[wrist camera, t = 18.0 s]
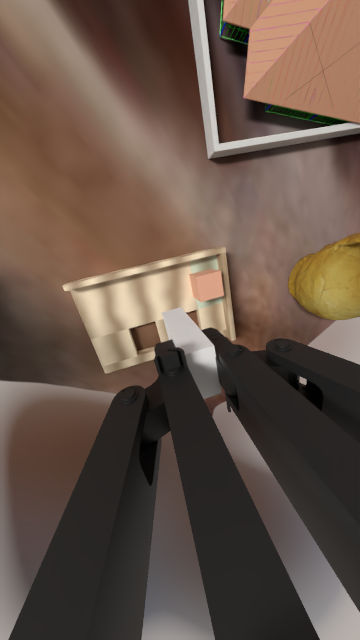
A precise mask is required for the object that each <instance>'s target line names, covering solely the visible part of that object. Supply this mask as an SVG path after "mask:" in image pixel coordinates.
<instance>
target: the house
mask: <svg viewBox="0 0 360 640" xmlns="http://www.w3.org/2000/svg"><path fill="white" fill-rule="evenodd" d="M222 1H223V0H222ZM223 5H224V9H223V11H222V8H223ZM223 5H222V4H221V18H222V14H223V18H222V20H223V24H224V26H223V24H222V26H223V28H222V26H221V23H222V20H221V21H220V37H222V38H226V39H229V40H233V41H236V42H240V43H243V44H247V45H248V53H247V64H246V75H245V85H244V96H243V98H244V99H248V100H253V101H258V102H262V103H267V104H270V105H269V106H268V107H267V108H266V105H267V104H266V105H265V112H270V111H271V110H272V109H273V108H274V107H275V106H277V107H278V108H279V107H282V108H286V109H289V110H290V109H291V110H293V111H294V110H297V111H300V112H304V113H307V114H308V113H310V115H312V114H313V115H314V114H315V115H314V116H313V115H312V116H313V117H311V116H310V115H309V116H308V117H309V118H308V117H306V118H308V119H306V118H305V119H304V118H303V117H304V116H303V117H302V118H299V117H300V116H301V115H303V114H304V113H303V114H301V115H300V116H299V117H296V116H297V115H298V114H299V113H300V112H299V113H298V114H297V115H296V116H295V117H294V116H292V115H291V116H290V115H289V114H290V113H291V112H290V113H289V114H288V115H285V114H286V113H287V112H288V111H289V110H288V111H287V112H286V113H285V114H281V113H278V112H279V111H280V110H281V109H282V108H281V109H280V110H279V111H278V112H277V113H275V111H276V110H277V109H278V108H277V109H276V110H275V111H274V112H270V113H275V114H280V115H285V116H289V117H294V118H299V119H304V120H309V121H314V120H315V119H317V118H318V117H319V116H323V117H326V118H327V117H329V118H328V119H330V118H333V119H336V120H338V121H340V120H343V121H344V123H345V122H347V121H348V122H350V123H352V122H355V123H359V124H360V0H224V2H223ZM226 23H229V24H230V26H229V25H226ZM231 24H233V25H235V27H236V26H239V27H243V28H244V30H241V29H240V28H235V27H231ZM225 26H228V27H229V28H233V31H234V29H238V31H239V30H240V31H243V32H244V31H245V28H246V29H249V30H250V32H247V31H248V30H247V31H245V32H246V33H249V34H248V36H247V38H246V40H245V42H242V41H243V39H244V37H245V35H246V33H245V35H244V37H243V39H242V41H239V40H240V38H241V36H242V34H243V32H242V34H241V36H240V38H239V40H238V41H237V40H235V38H236V36H237V34H238V32H237V34H236V36H235V38H234V39H231V36H230V38H227V37H226V36H225V37H224V36H221V35H222V32H223V30H224V27H225ZM221 29H222V31H221ZM228 30H229V29H228ZM227 33H228V31H227ZM227 33H226V35H227ZM232 33H233V32H232ZM231 35H232V34H231ZM248 37H249V42H248V43H246V41H247V39H248ZM271 105H273V106H274V107H273V108H272V109H271V110H270V111H267V109H268V108H269V107H270V106H271ZM286 109H285V110H286ZM285 110H284V111H285ZM284 111H283V112H284ZM293 111H292V112H293ZM297 111H296V112H297ZM283 112H282V113H283ZM296 112H295V113H296ZM295 113H294V114H295ZM294 114H293V115H294ZM307 114H306V115H307ZM306 115H305V116H306ZM316 115H319V116H318V117H317V118H315V119H314V120H311V119H312V118H314V117H315V116H316ZM310 117H311V118H310ZM321 118H322V117H321ZM321 118H320V119H321ZM320 119H318V120H320ZM324 119H325V118H324ZM324 119H323V120H324ZM328 119H327V120H328ZM333 119H331V120H333ZM318 120H317V121H314V122H319V121H318ZM327 120H325V121H327ZM331 120H330V121H331ZM321 121H322V120H321ZM321 121H320V122H319V123H324V122H325V121H324V122H321ZM330 121H328V122H330ZM334 121H335V120H334ZM334 121H333V122H334ZM338 121H337V122H338ZM328 122H327V123H324V124H328ZM341 122H342V121H341ZM341 122H339V123H341ZM348 122H347V123H348ZM331 123H332V122H331ZM331 123H329V124H328V125H333V124H331ZM335 123H336V122H335ZM335 123H334V124H335ZM339 123H338V124H339ZM338 124H336V125H338ZM342 124H343V123H342Z"/></svg>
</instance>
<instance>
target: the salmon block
mask: <svg viewBox="0 0 360 640" xmlns="http://www.w3.org/2000/svg"><path fill="white" fill-rule="evenodd" d="M189 277H190V282H191V287H192V293H193V297H194V298H196V299H197V300H198V301H200V302H203V301H206V300H210V299H214V298H217V297H221V296H224V292H223V284H222V276H221V271H220V270H215V269H208V270H204V271H200V272H196V273H192V274H189Z"/></svg>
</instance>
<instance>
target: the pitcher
mask: <svg viewBox="0 0 360 640" xmlns="http://www.w3.org/2000/svg"><path fill="white" fill-rule="evenodd" d="M288 281H289V283H288V288H289V293H290V294H291V295H292V296H293V297H294V298H295V299H297V301H298V302H299V303H300V304H301V305H302V306H303V307H304V308H305V309H306V310H307V311H309V312H311V313H313V314H315V315H317V316H320V317H322V318H325V319H330V320H346V319H351V318H355V317H360V233H356V234H353V235H350V236H348V237H346V238H344V239H342V240H340V241H337V242H335V243H333V244H328V245H326V246H324V248H323V249H321V250H320V251H319V252H317V253H314V254H309V255H307V256H306V257H304V258H301V259H300V260H299V262H297V264H296V265H295V267H294V268H293V270H292V272H291V274H290V276H289V280H288Z"/></svg>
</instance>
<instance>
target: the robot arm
mask: <svg viewBox="0 0 360 640" xmlns="http://www.w3.org/2000/svg"><path fill="white" fill-rule="evenodd" d="M162 315H163V319H164V323H165V327H166V331H167V335H168V338H169V340H168V341H165V342H161V343H158V344H156V346H155V348H154V351H155V358H154V361H155V365H156V368H157V371H158V374H159V377H158V379H157V380H156V381H155V382H154V383H153V384H152V385H151V386H149V387H147V388H146V389H144V388H143V387H141V386H130V387H127V388H125V389H123V390H121V391H120V392H119V393H118V394H117V395H116V396H115V397H114V399H113V401H112V403H111V405H110V408H109V410H108V412H107V414H106V417H105V419H104V421H103V424H102V426H101V428H100V430H99V433H98V435H97V437H96V440H95V442H94V444H93V447H92V449H91V451H90V454H89V456H88V458H87V460H86V463H85V465H84V467H83V470H82V472H81V474H80V476H79V479H78V481H77V483H76V486H75V488H74V490H73V492H72V495H71V497H70V499H69V502H68V504H67V506H66V509H65V511H64V513H63V515H62V518H61V520H60V522H59V525H58V527H57V529H56V532H55V534H54V536H53V538H52V541H51V543H50V545H49V548H48V550H47V552H46V555H45V557H44V559H43V561H42V564H41V566H40V568H39V571H38V573H37V575H36V578H35V580H34V582H33V584H32V587H31V589H30V591H29V594H28V596H27V598H26V601H25V603H24V605H23V608H22V610H21V612H20V614H19V617H18V619H17V621H16V624H15V626H14V628H13V631H12V633H11V635H10V637H9V640H141V637H142V627H143V617H144V608H145V597H146V588H147V578H148V568H149V558H150V549H151V539H152V529H153V519H154V510H155V509H154V508H155V500H156V490H157V480H158V470H159V460H160V450H161V437H162V436H164V435H165V434H167V433H168V432H169V431H171V435H172V439H173V444H174V449H175V453H176V457H177V463H178V467H179V472H180V477H181V481H182V486H183V491H184V495H185V500H186V505H187V510H188V514H189V519H190V524H191V528H192V533H193V538H194V542H195V547H196V552H197V556H198V561H199V566H200V570H201V575H202V580H203V584H204V589H205V593H206V598H207V603H208V608H209V613H210V616H211V622H212V627H213V631H214V636H215V640H320V639H319V637H318V635H317V633H316V631H315V629H314V627H313V625H312V623H311V620H310V619H309V617H308V614H307V612H306V610H305V608H304V606H303V604H302V602H301V600H300V598H299V596H298V594H297V592H296V590H295V588H294V585H293V583H292V581H291V579H290V577H289V575H288V573H287V571H286V569H285V567H284V565H283V563H282V561H281V558H280V556H279V554H278V552H277V550H276V548H275V546H274V544H273V542H272V540H271V538H270V536H269V534H268V531H267V529H266V527H265V525H264V523H263V521H262V519H261V517H260V515H259V513H258V511H257V509H256V507H255V505H254V503H253V500H252V498H251V496H250V494H249V492H248V490H247V488H246V486H245V484H244V482H243V480H242V478H241V476H240V474H239V471H238V470H237V468H236V466H235V463H234V461H233V459H232V457H231V455H230V453H229V451H228V449H227V447H226V445H225V443H224V441H223V438H222V436H221V434H220V432H219V430H218V428H217V426H216V424H215V422H214V420H213V418H212V416H211V414H210V411H209V409H208V407H207V405H206V403H205V401H204V399H206V398H209V397H212V396H214V395H217V394H220V393H222V390H221V386H222V387H223V389H224V390H225V396H226V402H227V409H228V412H231V409H230V406H231V408H232V409H233V411H234V413H235V414H236V416H237V417H238V419H239V420H240V422H241V424H242V425H243V427H244V428H245V430H246V432H247V433H248V435H249V436H250V438H251V440H252V441H253V443H254V444H255V446H256V448H257V449H258V451H259V452H260V454H261V456H262V457H263V459H264V460H265V462H266V463H267V465H268V467H269V468H270V470H271V471H272V473H273V475H274V476H275V478H276V479H277V481H278V483H279V484H280V486H281V487H282V489H283V491H284V492H285V494H286V495H287V497H288V499H289V500H290V502H291V503H292V505H293V507H294V508H295V510H296V511H297V513H298V514H299V516H300V518H301V519H302V521H303V523H304V524H305V526H306V527H307V529H308V530H309V532H310V534H311V535H312V537H313V538H314V540H315V542H316V543H317V545H318V546H319V548H320V550H321V551H322V553H323V554H324V556H325V558H326V559H327V561H328V562H329V564H330V566H331V567H332V569H333V570H334V572H335V574H336V575H337V577H338V578H339V580H340V581H341V583H342V585H343V586H344V588H345V589H346V591H347V593H348V594H349V596H350V597H351V599H352V601H353V602H354V603H355V605H356V607H357V609H358V610H359V612H360V365H359V364H356V363H354V362H351V361H348V360H345V359H342V358H339V357H337V356H334V355H331V354H329V353H326V352H323V351H320V350H318V349H314V348H312V347H309V346H307V345H304V344H301V343H298V342H295V341H293V340H289V339H274V340H271V341H269V342H268V343H267V344H266V350H263V351H252V352H251V351H250V350H249V349H247V348H246V347H244V346H242V345H233V344H232V343H231V342H230V341H229V340H228V339H227V338H226V337H225V336H224V335H223V334H221V333H220V332H219V331H218V330H217V329H214V328H211V327H210V328H206V329H203V330H200V329H199V328H198V326H197V325H196V324H195V323H194V322H193V321H192V319H191V318H190V317H189V316H188V315H187V314H186V312H185V311H184V310H183V309H182V308H181V307H180V308H176V309H173V310H169V311H165V312H162ZM300 376H301V377H303V378H305V379H307V384H306V385H303V384H301V383H299V377H300Z"/></svg>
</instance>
